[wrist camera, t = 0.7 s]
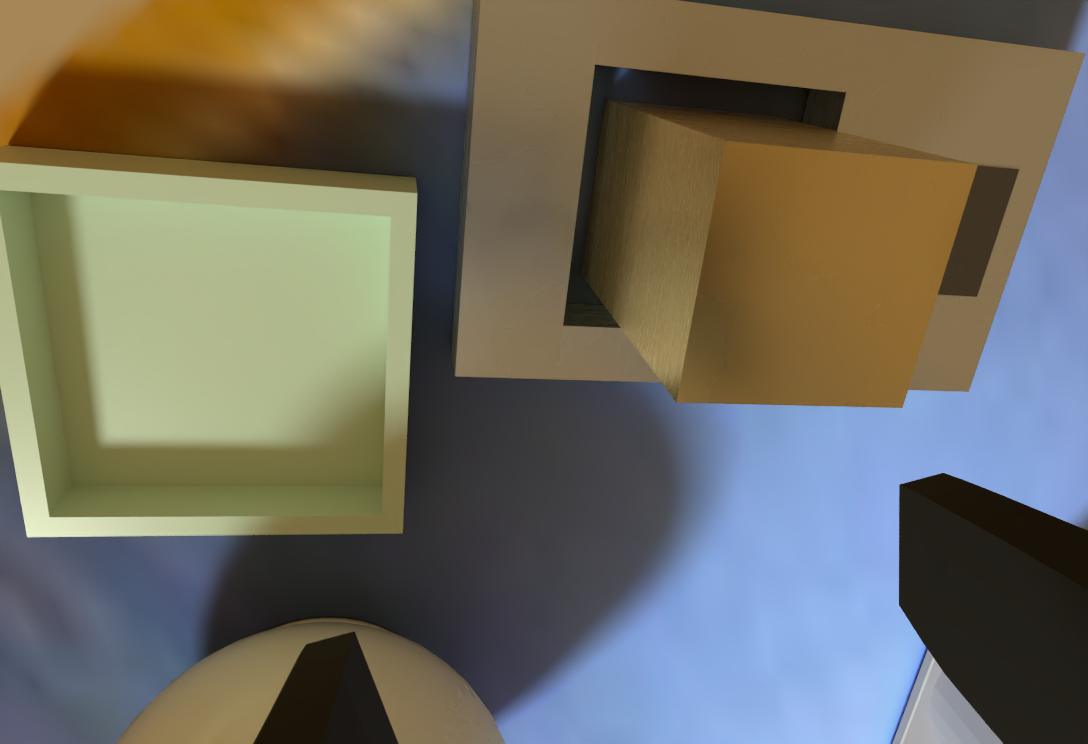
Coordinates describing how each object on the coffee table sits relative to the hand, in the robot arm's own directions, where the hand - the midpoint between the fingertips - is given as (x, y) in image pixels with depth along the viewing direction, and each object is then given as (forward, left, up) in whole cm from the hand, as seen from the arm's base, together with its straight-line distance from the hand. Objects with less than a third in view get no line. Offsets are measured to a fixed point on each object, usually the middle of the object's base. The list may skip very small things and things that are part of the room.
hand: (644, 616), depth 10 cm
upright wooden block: (-3, -4, -10) cm, 11 cm away
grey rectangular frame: (-5, -4, -10) cm, 12 cm away
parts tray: (+7, 0, -10) cm, 12 cm away
